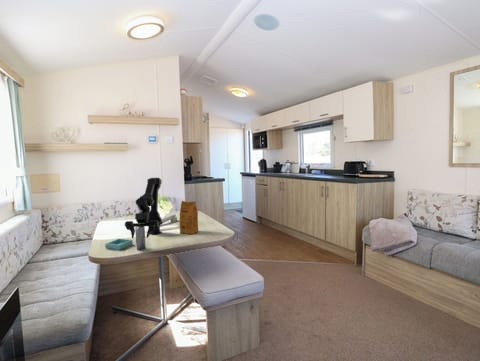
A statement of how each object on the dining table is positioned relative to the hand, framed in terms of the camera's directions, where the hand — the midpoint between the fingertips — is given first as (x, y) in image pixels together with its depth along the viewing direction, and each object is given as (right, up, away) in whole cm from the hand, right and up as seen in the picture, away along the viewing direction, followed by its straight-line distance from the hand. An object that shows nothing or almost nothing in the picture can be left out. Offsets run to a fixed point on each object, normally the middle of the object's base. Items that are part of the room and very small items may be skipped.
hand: (139, 237), depth 161 cm
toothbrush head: (-2, -2, +61) cm, 61 cm away
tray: (-15, -7, +8) cm, 18 cm away
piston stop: (0, -7, +2) cm, 7 cm away
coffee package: (+22, -3, +34) cm, 41 cm away
